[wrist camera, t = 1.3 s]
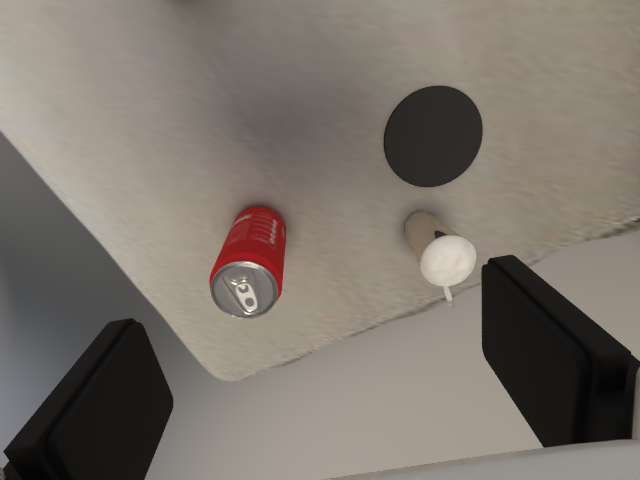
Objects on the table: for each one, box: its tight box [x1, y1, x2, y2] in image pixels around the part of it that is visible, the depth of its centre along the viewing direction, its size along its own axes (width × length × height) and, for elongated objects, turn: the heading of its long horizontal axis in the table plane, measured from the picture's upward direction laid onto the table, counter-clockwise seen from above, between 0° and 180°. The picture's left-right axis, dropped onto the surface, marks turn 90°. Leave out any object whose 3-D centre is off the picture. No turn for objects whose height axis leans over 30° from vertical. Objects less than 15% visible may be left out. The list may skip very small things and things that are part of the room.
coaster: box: [384, 86, 482, 187], centre depth 35 cm, size 9×9×1 cm
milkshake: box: [404, 211, 476, 307], centre depth 34 cm, size 4×5×10 cm
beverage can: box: [210, 207, 286, 319], centre depth 32 cm, size 5×5×12 cm
